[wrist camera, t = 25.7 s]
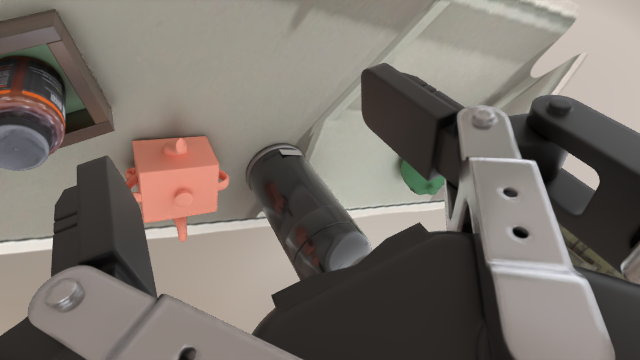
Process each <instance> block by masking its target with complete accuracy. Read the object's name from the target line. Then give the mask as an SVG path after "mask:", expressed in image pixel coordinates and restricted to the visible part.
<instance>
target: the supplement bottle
mask: <svg viewBox="0 0 640 360" xmlns="http://www.w3.org/2000/svg"><path fill="white" fill-rule="evenodd" d="M65 107H66V91H65V86H64V82H63V81H62V79H61V77H60V76H59V74H58V73H57V72H56V71H55V70H54V69H53V68H52V67H50V66H49V65H47V64H46V63H44V62H42V61H40V60H37V59H34V58H31V57H25V56H9V57H5V58H2V59H0V167H1V168H4V169H9V170H17V171H20V170H29V169H32V168H35V167H38V166H39V165H41V164H42V163H43V162H44V161H45V160H46V159H47V157H48V156H49V155H50V154H52V153H54V152H55V151H56V150H57V149H58V148H59V146H60V145H61V143H62V142H63V139H64V134H65Z"/></svg>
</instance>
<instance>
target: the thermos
mask: <svg viewBox="0 0 640 360" xmlns="http://www.w3.org/2000/svg"><path fill="white" fill-rule="evenodd" d="M557 223H558V222H557ZM558 226H559V228H560V231H561V234H562V237H563V240H564V243H565V246H566V248H567V251H568V254H569V257H570V260H571V263H572V264H574V265H577V266H580V267H584V268H587V269H590V270H594V271H597V272H600V273H604V274H607V275H610V276H614V277H617V278H620V279H624V280H625V278H624V276H623V275H622V274H621V273H619V272H618V271H617V270H616V269H614V268H613V267H612V266H611V265H610V264H608V263H607V262H606V261H605V260H603V259H602V258H601V257H600V256H599V255H597V254H596V253H595V252H594V251H592V250H591V249H590V248H589V247H588V246H586V245H585V244H584V243H583V242H581V241H580V240H579V239H578V238H577V237H575V236H574V235H573V234H572V233H570V232H569V231H568V230H567V229H566V228H564V227H563V226H562V225H561V224H559V223H558Z"/></svg>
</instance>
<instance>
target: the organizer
mask: <svg viewBox="0 0 640 360" xmlns="http://www.w3.org/2000/svg"><path fill="white" fill-rule="evenodd" d="M9 56H25V57H31V58H34V59H37V60H40V61H42V62H44V63H46V64H47V65H49V66H50V67H52V68H53V69H54V70H55V71H56V72H57V73H58V74H59V76H60V77H61V79H62V81H63V82H64V86H65V91H66V107H65V134H64V139H63V142H62V143H61V145H60V146H59V148H62V147H65V146H68V145H71V144H74V143H77V142H81V141H84V140H87V139H90V138H93V137H96V136H99V135H102V134H106V133H109V132H112V131H114V124H113V117H112V111H111V107H110V106H109V104H108V102H107V100H106V98H105V97H104V95H103V93H102V91H101V90H100V88H99V86H98V84H97V82H96V81H95V79H94V77H93V75H92V73H91V72H90V70H89V68H88V66H87V65H86V63H85V61H84V59H83V57H82V56H81V54H80V52H79V50H78V48H77V47H76V45H75V43H74V41H73V40H72V38H71V36H70V34H69V32H68V31H67V29H66V27H65V25H64V23H63V22H62V20H61V18H60V16H59V15H58V13H57V11H56V10H50V11H46V12H41V13H37V14H32V15H28V16H24V17H19V18H15V19H10V20H6V21H1V22H0V59H2V58H5V57H9ZM59 148H58V149H59Z"/></svg>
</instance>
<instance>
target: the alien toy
mask: <svg viewBox="0 0 640 360" xmlns="http://www.w3.org/2000/svg"><path fill="white" fill-rule="evenodd" d="M401 175H402V177H403V180H404V181H405V183H406V184H407V185H408V187H409V188H410V190H411V191H413V192H414V193H417V194H418V195H422V194H430V195H434V194H436V192H437V190H439V189H440V188H441V187H442V185H444V181H445V178H444V177H443V176H439V177H437V178H435V179H433V180H431V181H429V182H428V181H427V180H426V179H425V178H423V177H422V176H421V175H420V174H419V173H418V172H417V171H416V170H415V169H414V168H413V167H411V166H410V165H409V164H408V163H407V162H406V161H405V160H403V162H402V164H401Z"/></svg>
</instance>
